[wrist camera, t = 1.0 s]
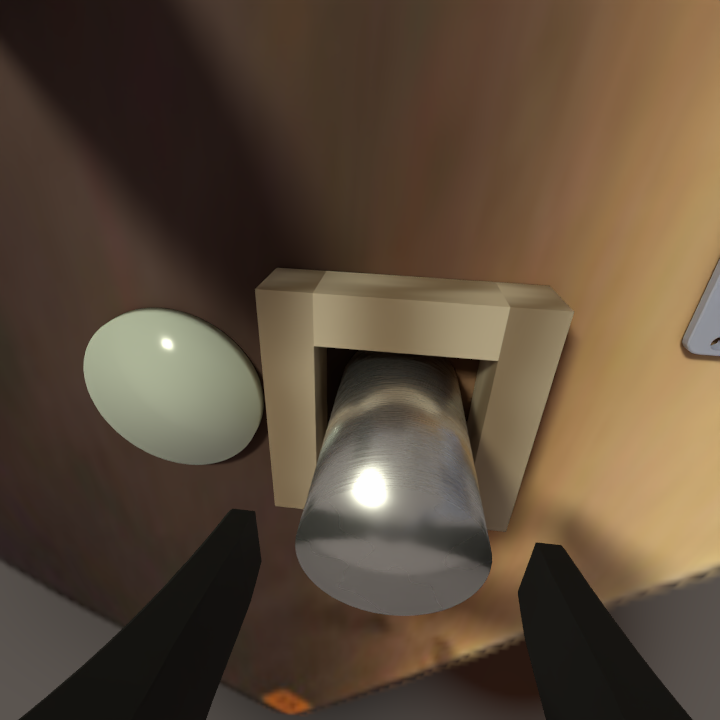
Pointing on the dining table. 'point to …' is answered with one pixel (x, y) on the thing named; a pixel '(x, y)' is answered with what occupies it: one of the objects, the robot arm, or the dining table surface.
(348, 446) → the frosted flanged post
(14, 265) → the dining table surface
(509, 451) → the collar
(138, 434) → the coaster
